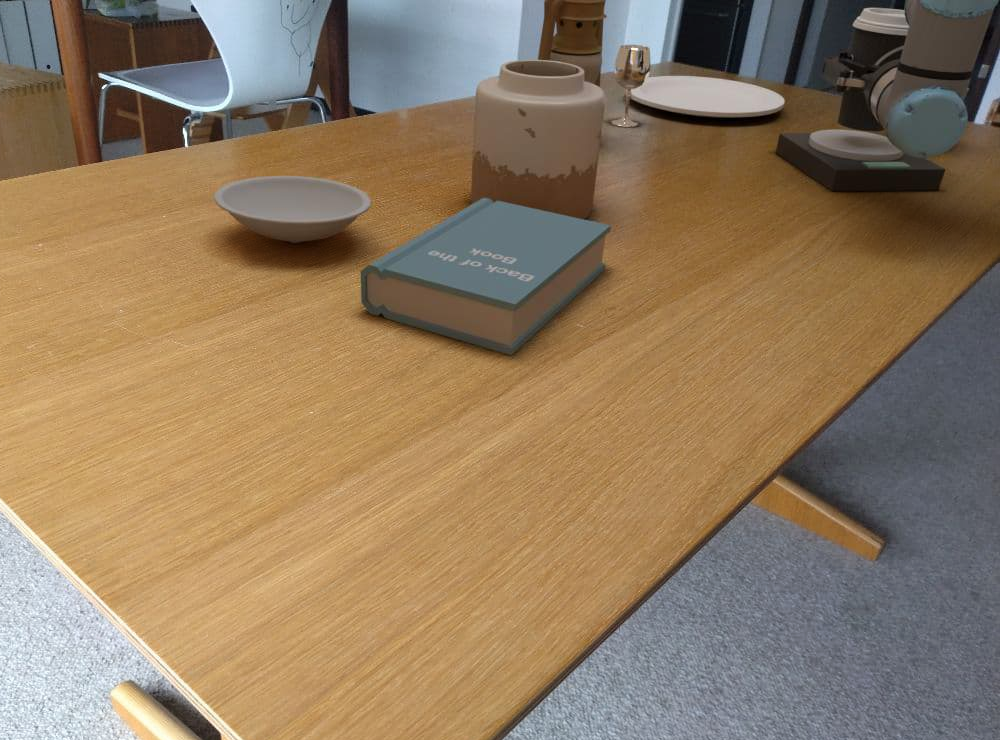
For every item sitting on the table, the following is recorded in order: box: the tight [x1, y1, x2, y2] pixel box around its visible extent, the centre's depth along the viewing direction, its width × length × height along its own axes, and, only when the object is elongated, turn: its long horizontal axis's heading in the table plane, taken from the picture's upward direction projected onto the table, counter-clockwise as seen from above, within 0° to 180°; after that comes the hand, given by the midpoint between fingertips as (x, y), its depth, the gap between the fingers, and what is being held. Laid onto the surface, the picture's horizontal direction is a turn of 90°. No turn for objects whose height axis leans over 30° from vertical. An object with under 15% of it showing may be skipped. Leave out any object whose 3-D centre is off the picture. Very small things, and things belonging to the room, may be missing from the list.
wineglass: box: [611, 44, 651, 128], centre depth 144 cm, size 6×6×12 cm
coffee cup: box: [837, 7, 909, 132], centre depth 122 cm, size 10×10×15 cm
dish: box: [213, 175, 372, 244], centre depth 97 cm, size 18×14×5 cm
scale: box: [775, 129, 946, 192], centre depth 128 cm, size 18×16×4 cm
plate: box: [625, 75, 786, 119], centre depth 159 cm, size 28×28×2 cm
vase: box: [470, 59, 606, 220], centre depth 106 cm, size 15×15×17 cm
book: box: [360, 198, 611, 356], centre depth 88 cm, size 23×16×5 cm
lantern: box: [537, 0, 608, 88], centre depth 128 cm, size 15×10×30 cm
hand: (871, 60), depth 126 cm, fingers closed on coffee cup, 8 cm apart
